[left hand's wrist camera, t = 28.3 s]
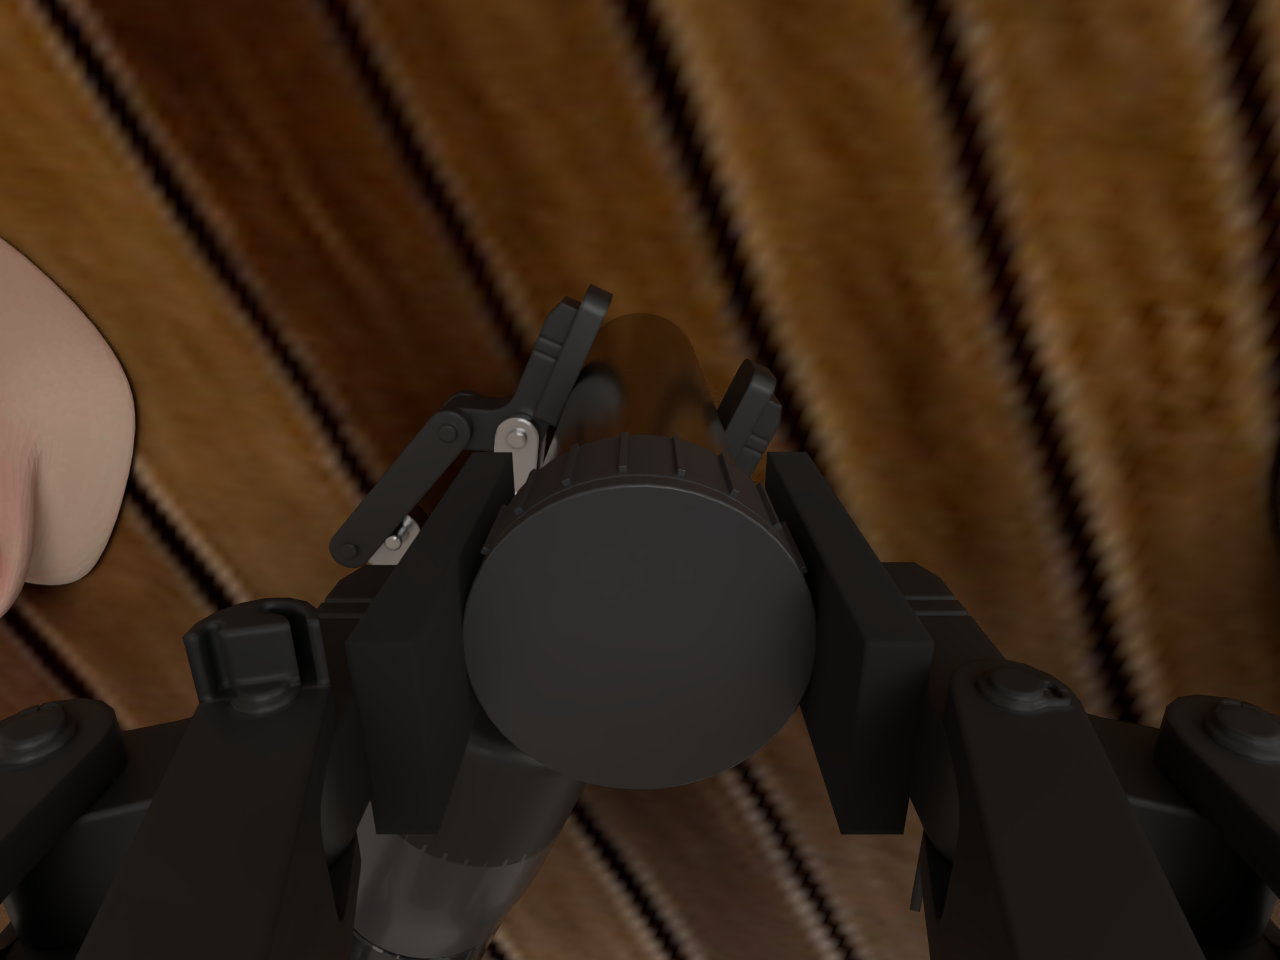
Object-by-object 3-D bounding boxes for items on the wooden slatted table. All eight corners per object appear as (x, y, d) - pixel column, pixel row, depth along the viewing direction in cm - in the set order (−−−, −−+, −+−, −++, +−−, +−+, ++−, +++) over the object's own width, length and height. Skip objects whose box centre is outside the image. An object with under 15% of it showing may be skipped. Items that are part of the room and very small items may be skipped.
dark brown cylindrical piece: (558, 376, 27) (444, 617, 11) (634, 287, 26) (627, 416, 10) (644, 449, 28) (650, 764, 12) (721, 366, 27) (838, 597, 11)
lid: (657, 747, 13) (660, 846, 11) (428, 592, 12) (385, 670, 10) (855, 558, 12) (899, 630, 10) (618, 363, 11) (613, 400, 9)
